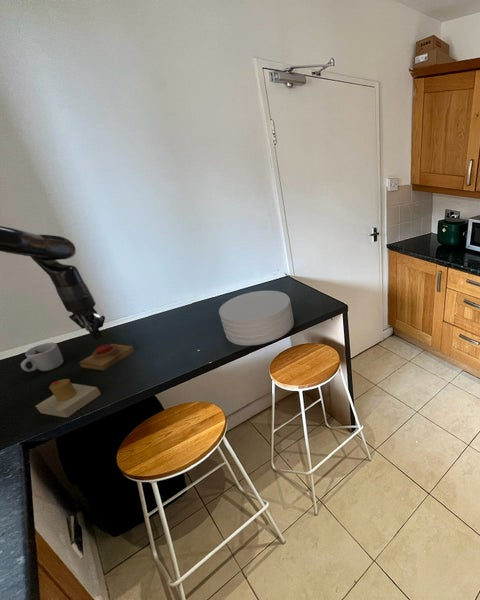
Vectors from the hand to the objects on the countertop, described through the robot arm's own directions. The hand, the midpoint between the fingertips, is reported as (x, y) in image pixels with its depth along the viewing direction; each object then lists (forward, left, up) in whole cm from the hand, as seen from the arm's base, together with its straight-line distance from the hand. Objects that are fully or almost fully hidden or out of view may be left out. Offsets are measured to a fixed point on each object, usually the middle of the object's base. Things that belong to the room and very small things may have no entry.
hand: (97, 338), depth 114 cm
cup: (-9, +16, -10) cm, 21 cm away
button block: (0, 0, -10) cm, 10 cm away
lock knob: (-21, -11, -6) cm, 25 cm away
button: (0, 0, -6) cm, 6 cm away
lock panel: (-21, -11, -10) cm, 25 cm away
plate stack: (+31, -44, -10) cm, 55 cm away
